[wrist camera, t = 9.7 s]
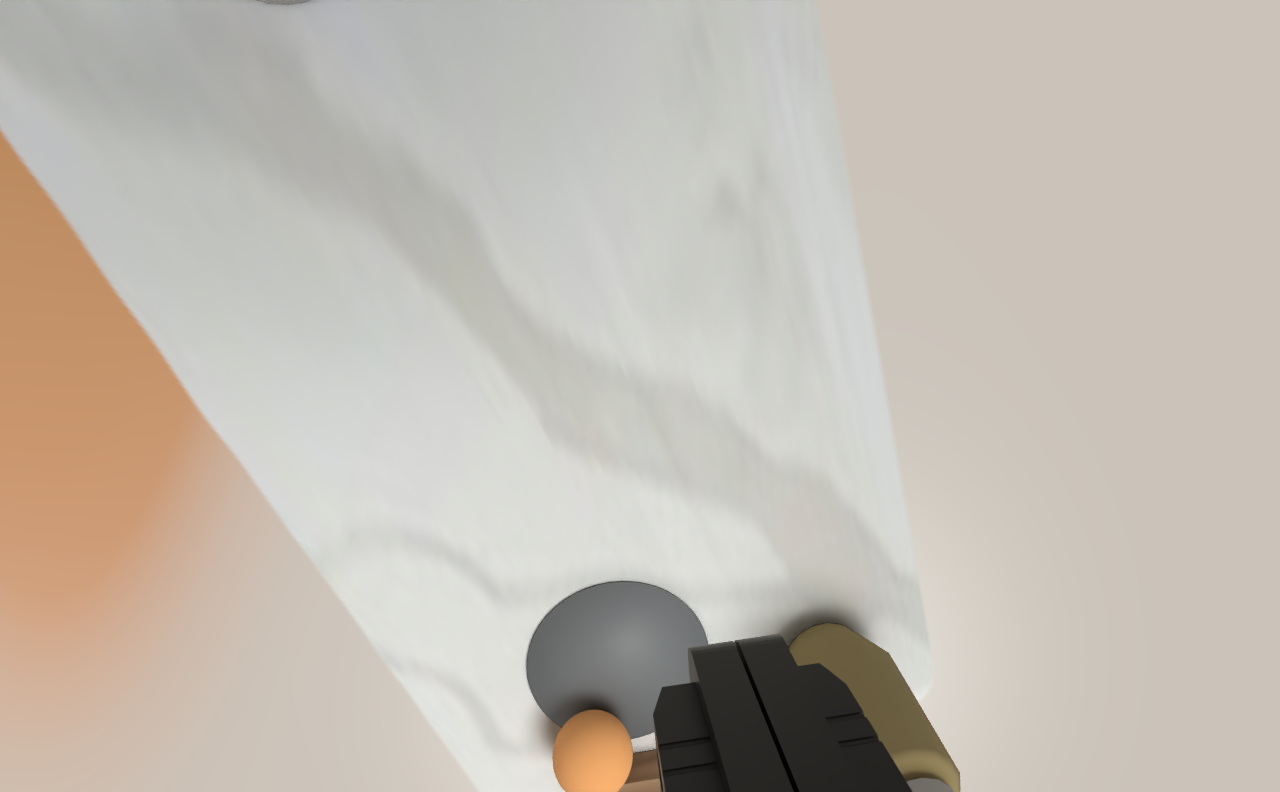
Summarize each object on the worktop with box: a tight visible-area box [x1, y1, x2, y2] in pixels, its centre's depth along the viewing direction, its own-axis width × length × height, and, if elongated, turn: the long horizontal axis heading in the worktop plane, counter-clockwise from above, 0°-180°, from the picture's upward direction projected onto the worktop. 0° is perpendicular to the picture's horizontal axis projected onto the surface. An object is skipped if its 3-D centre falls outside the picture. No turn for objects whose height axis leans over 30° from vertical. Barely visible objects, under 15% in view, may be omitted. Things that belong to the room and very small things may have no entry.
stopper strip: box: [618, 750, 661, 792], centre depth 44 cm, size 2×8×2 cm, turn 95°
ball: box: [552, 710, 633, 792], centre depth 42 cm, size 6×6×6 cm
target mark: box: [527, 581, 708, 739], centre depth 43 cm, size 13×13×1 cm
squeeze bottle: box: [789, 623, 960, 792], centre depth 36 cm, size 8×8×18 cm
